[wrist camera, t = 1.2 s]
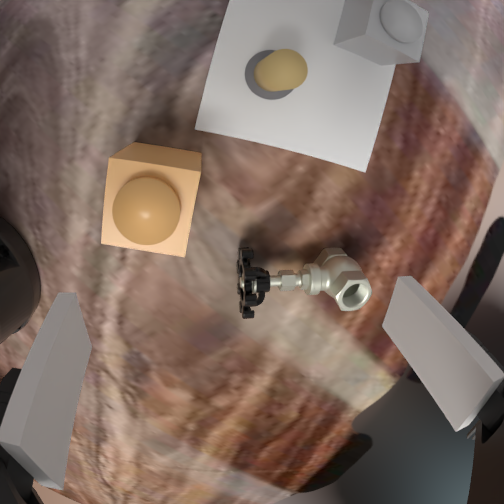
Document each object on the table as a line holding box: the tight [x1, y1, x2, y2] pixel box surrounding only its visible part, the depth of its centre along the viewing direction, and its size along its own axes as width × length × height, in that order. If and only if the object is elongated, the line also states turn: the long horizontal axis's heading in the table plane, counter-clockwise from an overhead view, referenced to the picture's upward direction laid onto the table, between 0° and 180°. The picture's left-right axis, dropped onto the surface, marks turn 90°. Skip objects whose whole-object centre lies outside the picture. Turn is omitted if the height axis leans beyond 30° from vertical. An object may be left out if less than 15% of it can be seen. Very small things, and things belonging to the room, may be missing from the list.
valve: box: [237, 247, 372, 319], centre depth 30 cm, size 7×7×12 cm
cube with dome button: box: [333, 0, 429, 66], centre depth 19 cm, size 5×5×7 cm
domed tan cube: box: [101, 142, 201, 257], centre depth 23 cm, size 6×6×9 cm
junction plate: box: [195, 0, 396, 172], centre depth 21 cm, size 16×16×6 cm
